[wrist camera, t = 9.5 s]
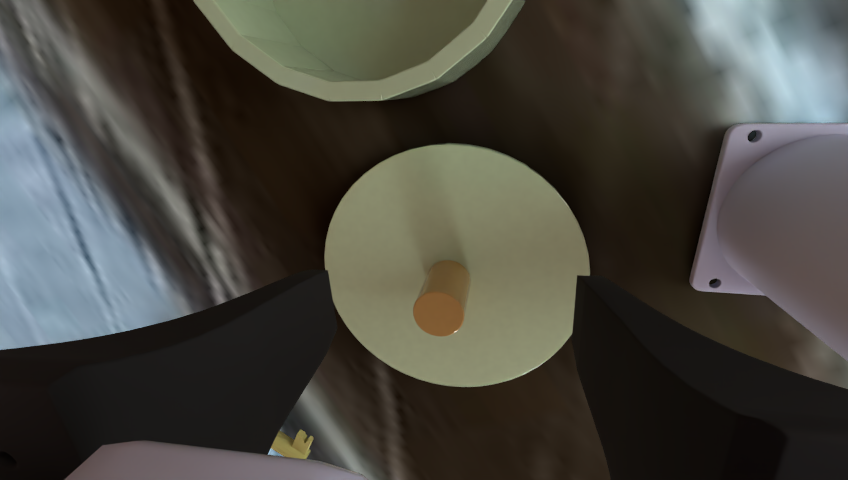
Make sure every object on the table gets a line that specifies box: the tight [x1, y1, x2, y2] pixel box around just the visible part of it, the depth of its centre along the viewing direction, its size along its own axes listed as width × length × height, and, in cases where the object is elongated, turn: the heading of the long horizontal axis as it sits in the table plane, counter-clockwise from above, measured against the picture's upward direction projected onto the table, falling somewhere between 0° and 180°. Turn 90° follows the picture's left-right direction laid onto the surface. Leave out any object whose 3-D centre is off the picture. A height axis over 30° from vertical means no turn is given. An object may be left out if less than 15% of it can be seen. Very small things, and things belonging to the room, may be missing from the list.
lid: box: [324, 143, 590, 387], centre depth 20 cm, size 14×14×5 cm
